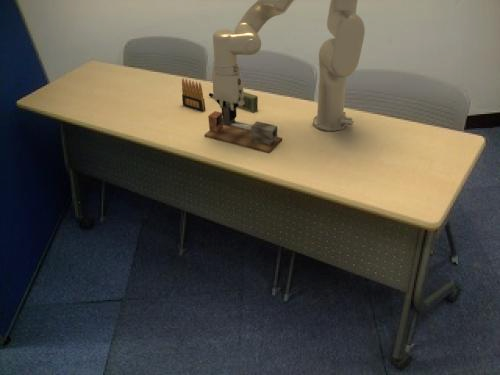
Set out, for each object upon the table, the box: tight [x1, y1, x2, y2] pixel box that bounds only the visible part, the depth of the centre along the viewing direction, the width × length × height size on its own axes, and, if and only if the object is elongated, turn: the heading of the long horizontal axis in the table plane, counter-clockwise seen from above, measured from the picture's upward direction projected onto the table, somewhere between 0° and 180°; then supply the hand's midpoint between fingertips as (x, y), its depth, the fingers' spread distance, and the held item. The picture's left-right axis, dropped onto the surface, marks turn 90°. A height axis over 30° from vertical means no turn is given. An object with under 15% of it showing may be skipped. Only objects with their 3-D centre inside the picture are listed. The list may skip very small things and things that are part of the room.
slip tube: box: [217, 103, 253, 132], centre depth 168 cm, size 20×4×8 cm, turn 61°
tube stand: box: [204, 110, 283, 154], centre depth 170 cm, size 26×10×7 cm, turn 61°
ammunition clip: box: [181, 77, 206, 113], centre depth 190 cm, size 11×2×12 cm, turn 54°
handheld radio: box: [208, 91, 259, 114], centre depth 194 cm, size 7×3×25 cm
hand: (229, 117), depth 170 cm, fingers closed on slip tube, 2 cm apart
